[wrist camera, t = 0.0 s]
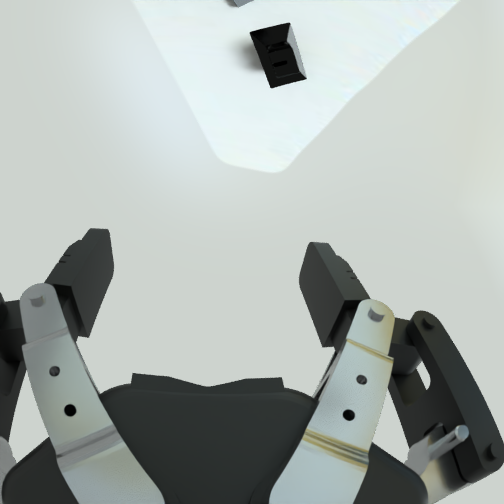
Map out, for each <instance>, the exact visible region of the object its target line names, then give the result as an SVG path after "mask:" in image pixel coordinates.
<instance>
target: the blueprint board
mask: <svg viewBox="0 0 504 504" xmlns="http://www.w3.org/2000/svg"><path fill="white" fill-rule="evenodd" d="M233 1H234V2H235V3H236V5H237V6H238V7H241V6H243V5H245V4H247V3H249V2H251V1H253V0H233Z"/></svg>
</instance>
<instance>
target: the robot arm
mask: <svg viewBox="0 0 504 504" xmlns="http://www.w3.org/2000/svg"><path fill="white" fill-rule="evenodd" d="M113 272H114V262H113V255H112V247H111V240H110V233H109V230H108V229H95V228H91V229H89V230H88V232H87V233H86V234H85V236H84V237H83V238H82V240H78V241H76V242H75V243H73V244H72V245H71V246H69V247H68V249H67V250H66V251H65V253H64V254H63V256H62V257H61V258H60V260H59V263H57V264H56V266H55V267H54V269H53V270H52V272H51V273H50V275H49V276H48V278H47V279H46V281H45V282H44V283H40V284H36V285H33V286H31V287H29V288H28V289H27V290H26V291H25V292H24V293H23V294H22V296H21V298H20V300H15V301H8V302H5V301H4V299H3V297H2V294H1V293H0V504H434V503H436V502H437V501H439V500H441V499H443V498H445V497H446V496H448V495H449V494H452V493H454V492H456V491H459V490H461V489H463V488H465V487H467V486H469V485H471V484H473V483H475V482H477V481H479V480H481V479H483V478H485V477H487V476H488V475H490V474H492V473H493V472H495V471H497V470H498V469H499V468H500V467H501V466H502V465H503V463H504V443H503V440H502V438H501V436H500V433H499V430H498V428H497V425H496V423H495V421H494V419H493V416H492V414H491V412H490V410H489V408H488V406H487V403H486V401H485V399H484V397H483V395H482V393H481V391H480V389H479V387H478V385H477V384H476V382H475V380H474V378H473V376H472V374H471V372H470V370H469V369H468V367H467V365H466V363H465V362H464V360H463V358H462V356H461V355H460V353H459V351H458V349H457V348H456V346H455V344H454V343H453V341H452V340H451V338H450V336H449V335H448V333H447V332H446V330H445V329H444V327H443V325H442V324H441V322H440V321H439V320H438V319H437V318H436V317H435V316H434V315H433V314H431V313H429V312H426V311H417V312H415V313H414V315H413V316H412V318H411V320H405V319H400V318H395V317H394V314H393V312H392V310H391V309H390V308H389V307H388V306H387V305H385V304H384V303H382V302H380V301H377V300H373V299H370V297H369V295H368V294H367V292H366V290H365V289H364V287H363V286H362V284H361V283H360V281H359V280H358V279H357V276H356V275H355V273H353V270H352V269H351V267H350V266H349V264H348V263H347V262H346V261H345V260H344V259H342V258H341V257H340V256H337V255H336V254H335V252H334V251H333V249H332V248H331V246H330V245H329V244H328V243H319V242H310V243H309V245H308V247H307V250H306V254H305V257H304V261H303V264H302V268H301V271H300V276H299V285H300V289H301V291H302V294H303V297H304V299H305V302H306V304H307V307H308V309H309V312H310V315H311V318H312V320H313V323H314V326H315V328H316V331H317V333H318V336H319V339H320V342H321V344H322V347H334V348H335V352H334V354H333V356H332V358H331V360H330V362H329V364H328V366H327V368H326V370H325V373H324V375H323V377H322V379H321V381H320V383H319V385H318V387H317V389H316V390H315V393H314V394H313V396H312V397H311V396H308V395H307V394H305V393H302V392H299V391H296V390H293V389H289V388H284V385H283V381H282V378H281V377H279V378H255V379H243V380H239V381H234V382H230V383H225V384H220V385H216V386H211V387H206V386H201V385H197V384H193V383H190V382H186V381H182V380H179V379H175V378H172V377H167V376H155V375H146V374H136V373H133V375H132V381H131V384H124V385H120V386H116V387H113V388H111V389H108V390H107V391H104V392H103V393H101V394H100V392H99V390H98V388H97V387H96V385H95V383H94V381H93V379H92V377H91V375H90V373H89V371H88V368H87V366H86V364H85V362H84V360H83V358H82V355H81V353H80V351H79V349H78V346H77V344H76V341H77V338H78V336H82V337H87V338H88V337H89V336H90V333H91V330H92V327H93V325H94V322H95V319H96V316H97V314H98V311H99V309H100V306H101V304H102V301H103V299H104V296H105V294H106V291H107V289H108V286H109V284H110V282H111V279H112V277H113ZM421 361H423V363H424V365H425V367H426V369H427V371H428V373H429V375H430V380H431V382H430V386H429V388H428V389H427V390H426V388H425V386H424V384H423V382H422V379H421V377H420V375H419V373H418V371H417V369H416V368H417V366H418V365H419V364H420V363H421ZM26 370H27V372H28V376H29V380H30V383H31V387H32V390H33V393H34V396H35V400H36V402H37V406H38V409H39V411H40V414H41V417H42V419H43V422H44V425H45V427H46V430H47V432H48V435H49V437H48V438H47V439H46V440H44V441H43V442H42V443H41V444H40V445H38V446H37V447H36V448H35V449H34V450H33V451H31V452H30V453H29V454H28V455H26V456H25V457H24V458H23V459H22V460H21V461H19V462H18V463H17V464H16V460H15V458H14V457H13V456H12V451H11V448H10V445H9V444H8V442H9V437H10V431H11V426H12V421H13V417H14V412H15V408H16V404H17V400H18V397H19V393H20V389H21V386H22V382H23V379H24V376H25V373H26ZM387 388H388V390H389V392H390V395H391V398H392V400H393V403H394V405H395V408H396V411H397V414H398V417H399V419H400V422H401V425H402V428H403V431H404V434H405V437H406V440H407V443H408V446H409V449H410V450H409V452H408V460H406V461H405V463H404V464H403V463H402V462H400V461H399V460H397V459H396V458H394V457H393V456H391V455H390V454H388V453H387V452H386V451H384V450H383V449H381V448H380V447H378V446H377V445H375V444H374V443H373V442H372V440H373V437H374V434H375V431H376V427H377V424H378V421H379V418H380V414H381V410H382V407H383V404H384V400H385V396H386V392H387Z"/></svg>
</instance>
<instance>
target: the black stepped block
mask: <svg viewBox="0 0 504 504" xmlns="http://www.w3.org/2000/svg"><path fill="white" fill-rule="evenodd" d="M250 36H251V38H252V40H253V43H254V45H255V48H256V51H257V53H258V56H259V58H260V61H261V64H262V66H263V69H264V71H265V74H266V77H267V80H268V82H269V85H270V88H275V87H278V86H282V85H285V84H289V83H293V82H297V81H301V80H305V79H307V78H306V74H305V70H304V67H303V63H302V60H301V56H300V53H299V49H298V46H297V43H296V40H295V36H294V33H293V30H292V27H291V24H290V23H285V24H280V25H276V26H272V27H267V28H263V29H259V30H256V31H252V32H250Z"/></svg>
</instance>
